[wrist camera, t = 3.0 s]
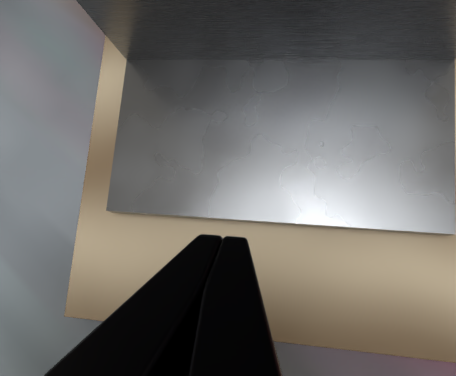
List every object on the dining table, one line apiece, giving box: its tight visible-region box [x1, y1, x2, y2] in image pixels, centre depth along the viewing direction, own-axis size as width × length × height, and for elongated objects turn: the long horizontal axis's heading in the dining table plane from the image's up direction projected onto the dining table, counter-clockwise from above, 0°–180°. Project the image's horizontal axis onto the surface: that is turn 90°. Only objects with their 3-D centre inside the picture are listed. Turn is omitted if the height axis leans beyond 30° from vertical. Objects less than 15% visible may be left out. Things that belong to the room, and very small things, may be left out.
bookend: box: [77, 0, 456, 236], centre depth 10 cm, size 7×12×13 cm, turn 85°
